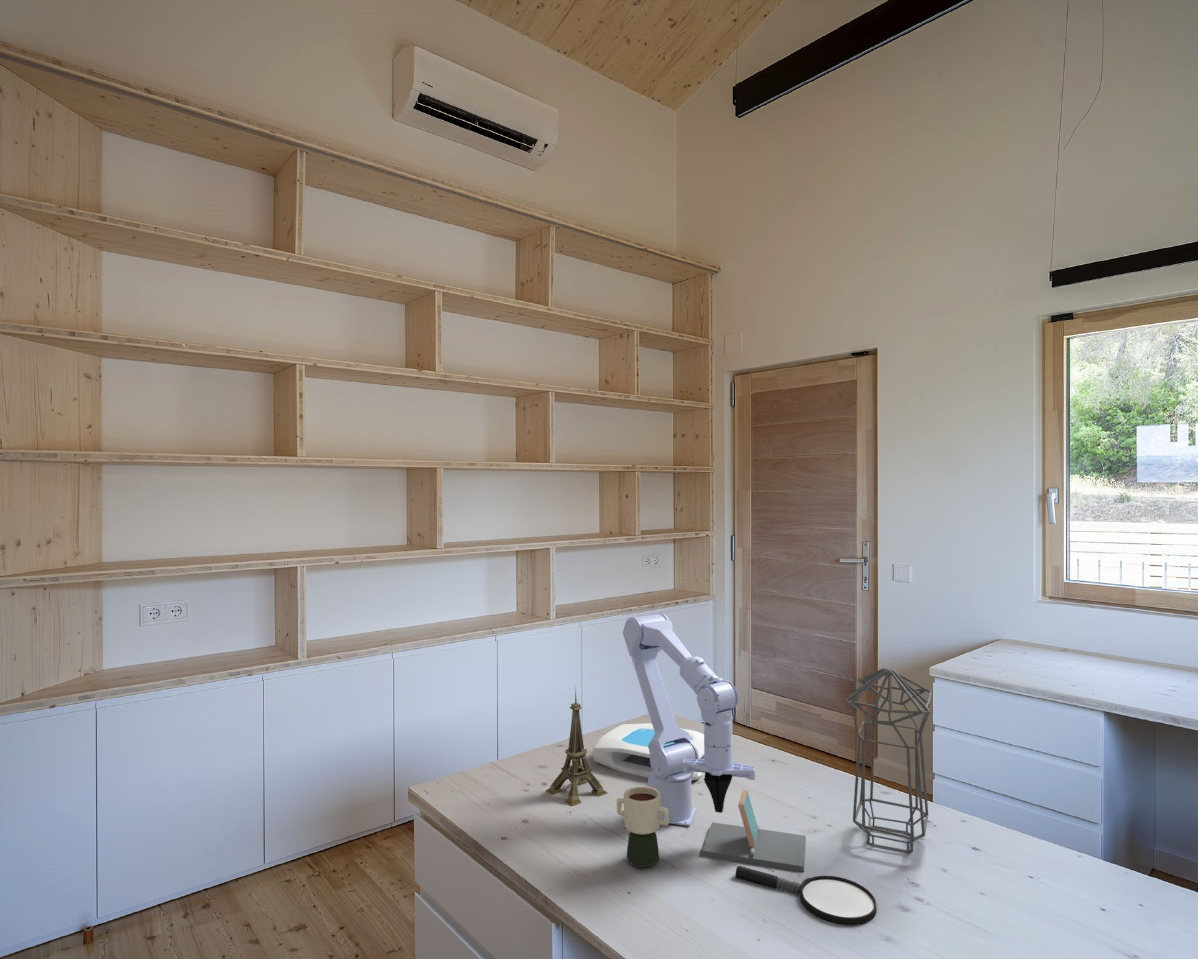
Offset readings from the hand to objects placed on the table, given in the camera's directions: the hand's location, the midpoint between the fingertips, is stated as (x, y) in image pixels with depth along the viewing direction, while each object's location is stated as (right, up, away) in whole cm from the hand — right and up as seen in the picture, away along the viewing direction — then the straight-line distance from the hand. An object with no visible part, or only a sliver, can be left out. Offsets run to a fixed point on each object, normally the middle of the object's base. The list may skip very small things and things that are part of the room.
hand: (719, 810), depth 138 cm
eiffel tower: (-30, -8, +24) cm, 39 cm away
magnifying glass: (+12, -7, -18) cm, 22 cm away
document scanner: (-9, -8, +42) cm, 44 cm away
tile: (+5, -1, -2) cm, 5 cm away
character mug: (-16, -7, -7) cm, 19 cm away
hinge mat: (+7, -6, -2) cm, 10 cm away
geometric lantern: (+35, -6, -1) cm, 35 cm away
